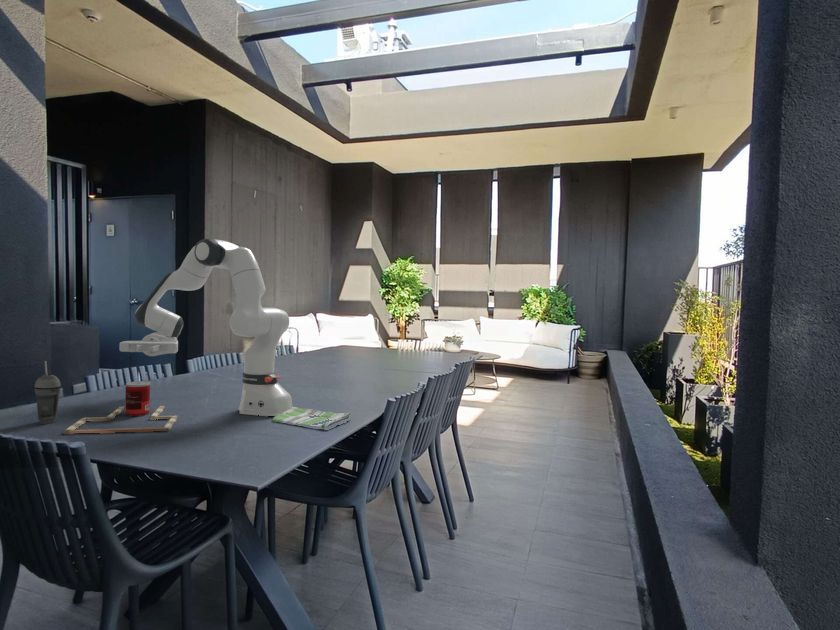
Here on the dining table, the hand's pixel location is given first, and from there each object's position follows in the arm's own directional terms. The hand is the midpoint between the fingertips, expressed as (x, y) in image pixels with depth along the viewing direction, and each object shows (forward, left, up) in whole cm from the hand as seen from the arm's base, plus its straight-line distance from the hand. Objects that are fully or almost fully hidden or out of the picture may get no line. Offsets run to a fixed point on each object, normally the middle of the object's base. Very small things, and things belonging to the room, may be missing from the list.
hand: (145, 348), depth 196 cm
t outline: (-12, +15, -22) cm, 29 cm away
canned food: (-6, +8, -22) cm, 24 cm away
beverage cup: (+7, +30, -22) cm, 38 cm away
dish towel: (-64, -16, -23) cm, 70 cm away
